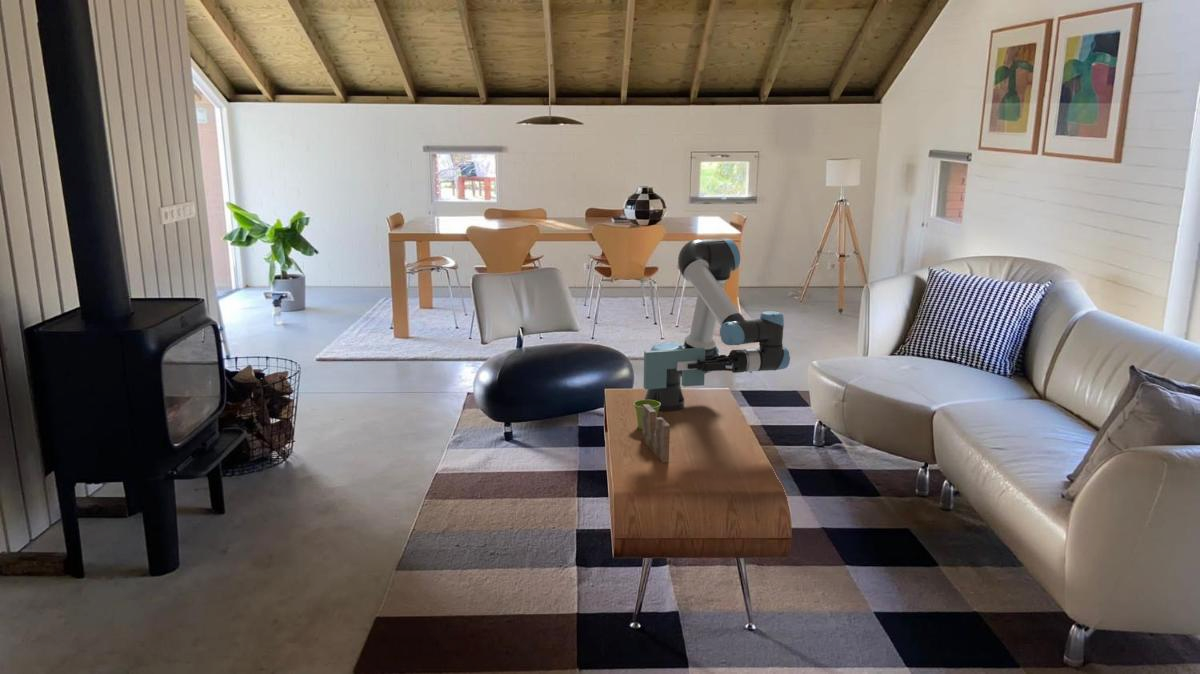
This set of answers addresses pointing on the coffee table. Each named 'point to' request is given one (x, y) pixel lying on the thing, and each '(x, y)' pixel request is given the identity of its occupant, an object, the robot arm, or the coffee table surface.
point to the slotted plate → (671, 367)
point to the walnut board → (655, 433)
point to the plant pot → (639, 409)
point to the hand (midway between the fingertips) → (675, 365)
